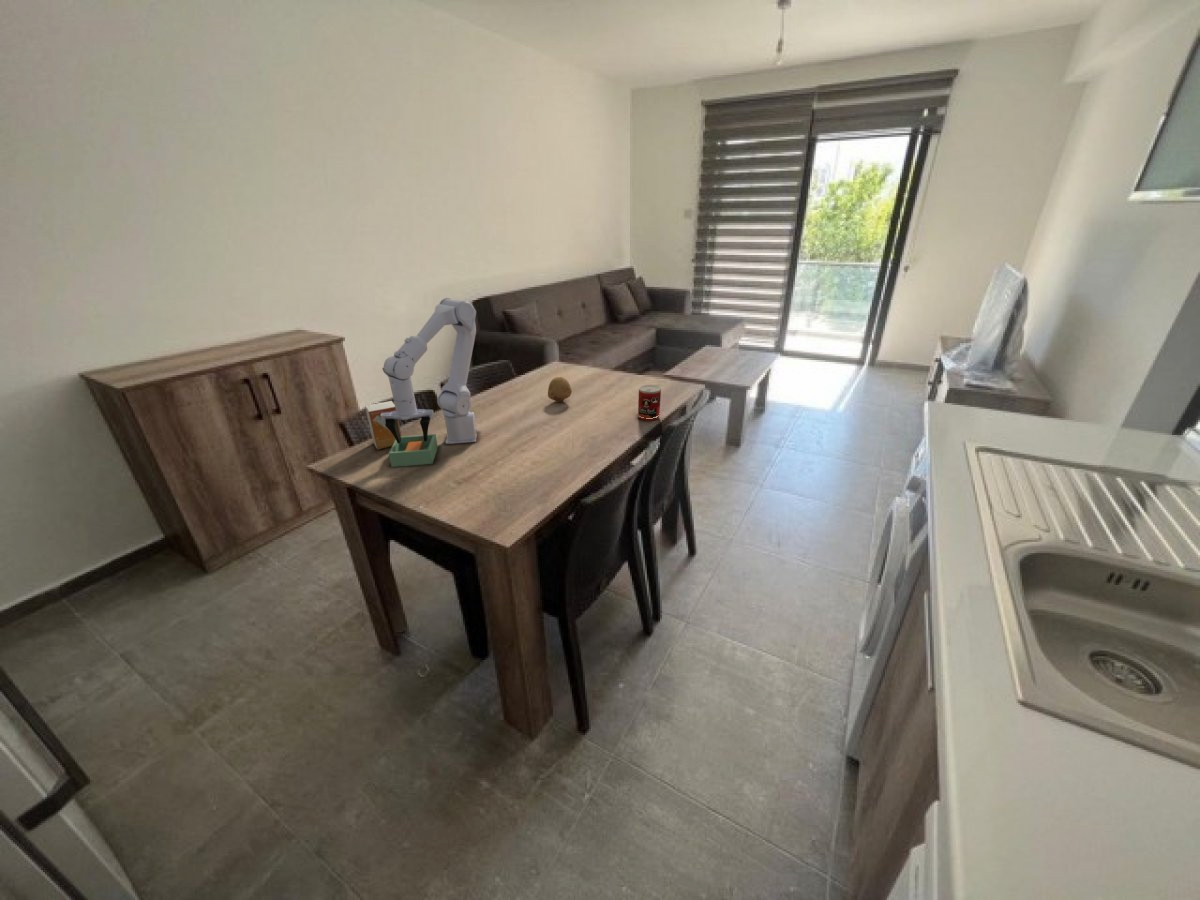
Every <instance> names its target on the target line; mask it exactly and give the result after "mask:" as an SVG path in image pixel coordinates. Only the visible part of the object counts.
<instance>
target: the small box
mask: <svg viewBox="0 0 1200 900" xmlns="http://www.w3.org/2000/svg"><path fill="white" fill-rule="evenodd" d="M364 408H365V413H366V417H367V421H368V426H369V431H370V434H371V438H372V442H373V444H374V446H375V448H376V450H377V451H378V450H381V449H386V448H389V447H390V448H392V446H393V444H394V442H395V440H396V439H395V437H394V435H393V434H392V433H391V431H390V430H389V429H388V428H387V427H386V426H385V423H386V421H381V417H380V415H381V414H382V413H387V412H393V411H396V409H395V404H394V401H392V400H389V401H385V402H377V403H373V404H368V405H364ZM398 427H399V432H400V436H403V435H402V430H401V425H400V419H399V420H398Z"/></svg>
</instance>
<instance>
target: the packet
mask: <svg viewBox="0 0 1200 900" xmlns="http://www.w3.org/2000/svg"><path fill="white" fill-rule="evenodd" d="M412 450H424V447H423V442H422V441H416V442H409V443H408V445H407V448H406V450H405V451H412Z"/></svg>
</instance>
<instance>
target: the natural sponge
mask: <svg viewBox="0 0 1200 900" xmlns="http://www.w3.org/2000/svg"><path fill="white" fill-rule="evenodd" d="M572 392H573V391H572V388H571V384H570V382H569V381H568V380H567V379H566V378H565V377H563V376H555V377H553V378H552V379H551V380H550V382H549V385H548V389H547V397H548V399H550V400H552V401H554V402H557V403H562V402H564V400H566V399H568V398H570V397H571V395H572Z"/></svg>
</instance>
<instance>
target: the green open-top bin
mask: <svg viewBox="0 0 1200 900" xmlns="http://www.w3.org/2000/svg"><path fill="white" fill-rule="evenodd" d="M416 441H422V442H423V447H424V450H412V451H405V450H406V448H407V445H408V443H409V442H416ZM438 448H439V445H438V439H437V435H436V433H431V434H428V439H427V441H424V438H423V434H419V435H418V434H417V435H415V434H414V435H402V436H401V442H400V443H397V441H396V440H395V442H394V444H393V446H391V447H390V449H389V451H388V459H389V462H390V467H391V468H394V467H395V468H396V467H409V466H422V465H423V466H424V465H433V464H434V461H435V458H436V454H437V452H438Z"/></svg>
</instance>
